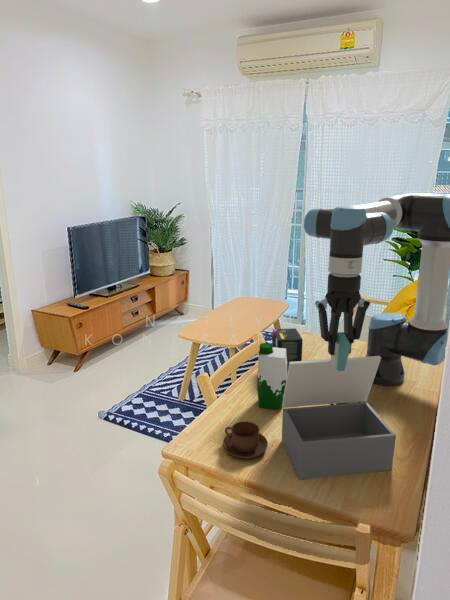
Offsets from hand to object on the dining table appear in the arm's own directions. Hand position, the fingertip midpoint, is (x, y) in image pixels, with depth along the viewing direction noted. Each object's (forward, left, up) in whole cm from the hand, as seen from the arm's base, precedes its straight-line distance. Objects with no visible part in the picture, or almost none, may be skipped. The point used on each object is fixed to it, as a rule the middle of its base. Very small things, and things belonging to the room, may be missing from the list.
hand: (338, 365), depth 110 cm
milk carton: (+10, -27, -25) cm, 38 cm away
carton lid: (0, 0, -4) cm, 4 cm away
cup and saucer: (+23, -5, -25) cm, 34 cm away
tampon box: (-1, -50, -25) cm, 56 cm away
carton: (0, +1, -25) cm, 25 cm away
